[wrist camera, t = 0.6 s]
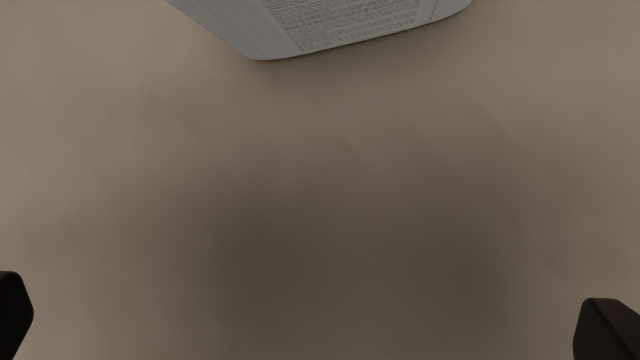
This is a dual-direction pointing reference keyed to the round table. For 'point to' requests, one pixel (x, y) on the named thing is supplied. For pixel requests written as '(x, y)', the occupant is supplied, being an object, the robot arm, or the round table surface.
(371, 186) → the round table surface
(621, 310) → the robot arm
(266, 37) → the photo printer
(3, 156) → the round table surface
